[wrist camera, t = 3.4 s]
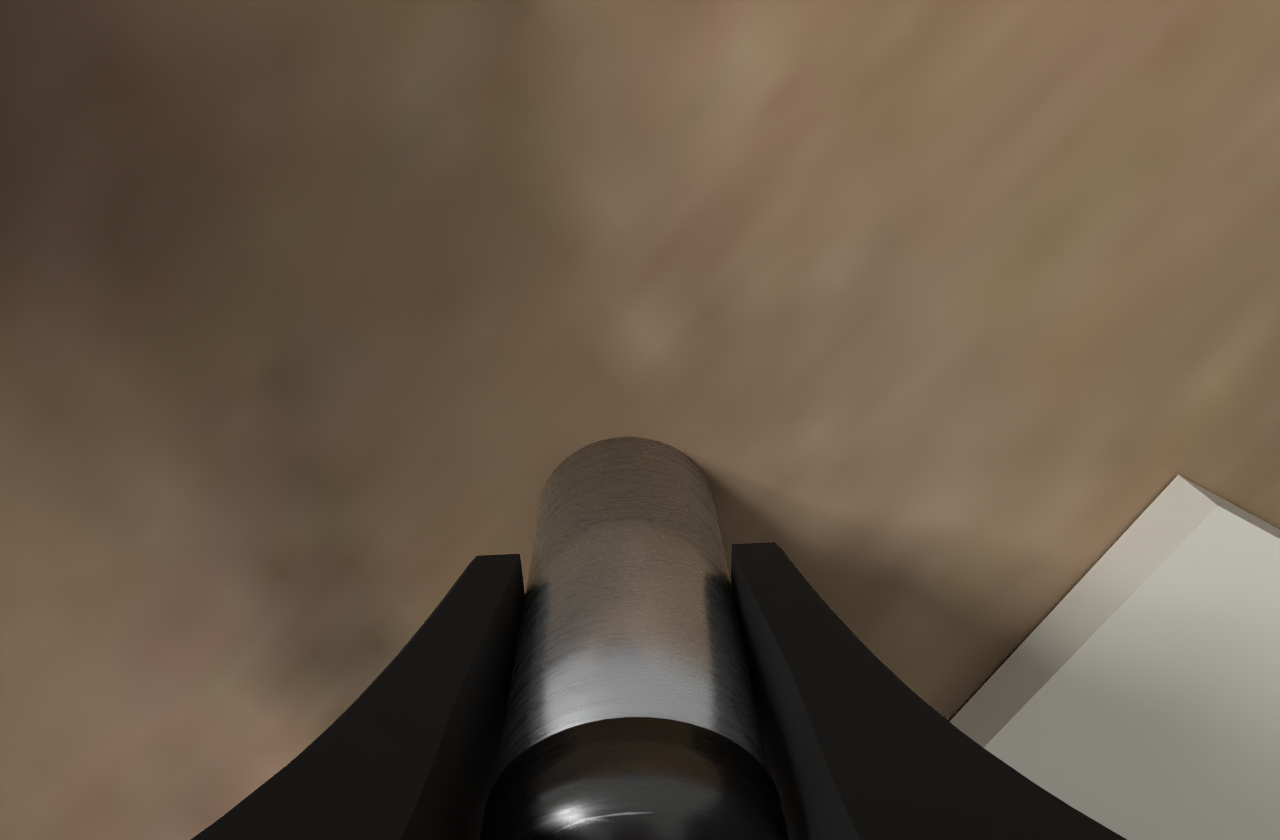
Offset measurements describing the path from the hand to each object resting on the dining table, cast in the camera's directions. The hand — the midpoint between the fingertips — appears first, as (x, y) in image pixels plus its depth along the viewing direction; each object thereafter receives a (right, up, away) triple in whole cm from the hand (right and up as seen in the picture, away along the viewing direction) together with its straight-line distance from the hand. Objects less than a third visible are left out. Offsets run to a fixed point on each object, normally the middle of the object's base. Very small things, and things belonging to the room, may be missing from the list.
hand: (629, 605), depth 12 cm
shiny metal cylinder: (0, +1, +2) cm, 2 cm away
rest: (+11, -3, +4) cm, 12 cm away
